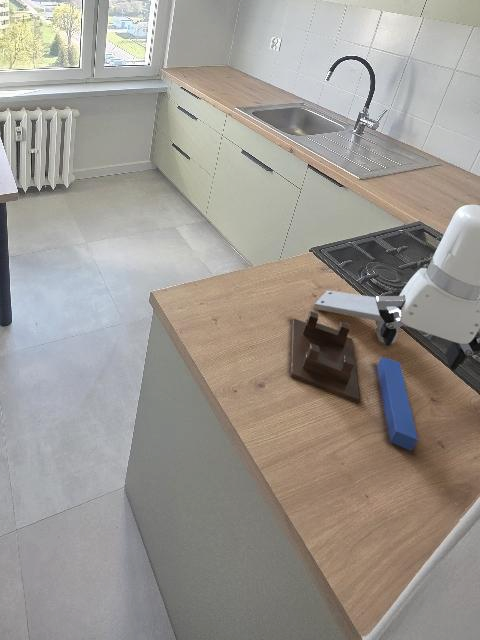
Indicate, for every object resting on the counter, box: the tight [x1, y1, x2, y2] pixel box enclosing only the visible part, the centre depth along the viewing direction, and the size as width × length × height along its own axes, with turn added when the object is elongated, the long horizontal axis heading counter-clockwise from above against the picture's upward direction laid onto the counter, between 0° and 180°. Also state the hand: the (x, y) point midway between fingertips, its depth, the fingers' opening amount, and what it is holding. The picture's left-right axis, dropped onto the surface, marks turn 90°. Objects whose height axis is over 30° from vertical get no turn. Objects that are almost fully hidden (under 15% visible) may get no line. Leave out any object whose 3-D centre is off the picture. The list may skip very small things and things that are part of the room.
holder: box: [290, 310, 361, 403], centre depth 87 cm, size 12×15×7 cm
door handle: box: [314, 289, 410, 344], centre depth 97 cm, size 18×8×20 cm
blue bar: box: [376, 356, 419, 452], centre depth 79 cm, size 3×16×3 cm, turn 155°
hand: (416, 351), depth 74 cm, fingers open, 9 cm apart
